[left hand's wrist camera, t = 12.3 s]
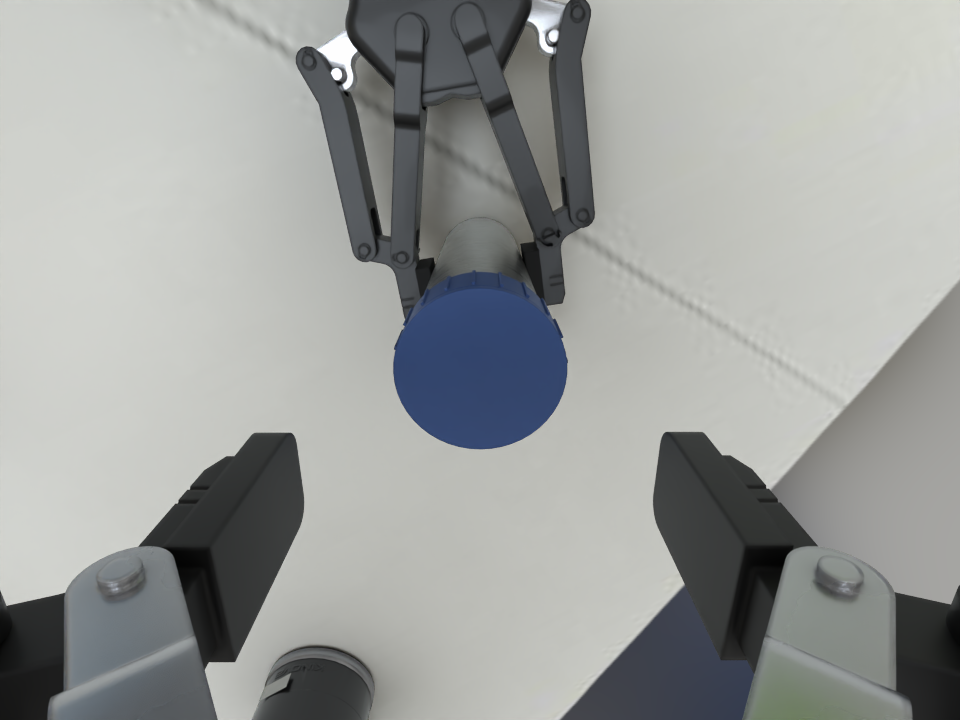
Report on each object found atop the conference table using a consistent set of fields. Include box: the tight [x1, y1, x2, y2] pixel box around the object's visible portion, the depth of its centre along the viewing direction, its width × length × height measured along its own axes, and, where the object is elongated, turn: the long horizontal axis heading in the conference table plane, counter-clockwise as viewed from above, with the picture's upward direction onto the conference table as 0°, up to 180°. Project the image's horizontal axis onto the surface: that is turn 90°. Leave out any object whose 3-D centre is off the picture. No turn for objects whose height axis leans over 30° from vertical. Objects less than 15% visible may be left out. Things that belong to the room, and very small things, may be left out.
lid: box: [393, 270, 568, 449], centre depth 18 cm, size 5×5×2 cm
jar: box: [426, 218, 536, 294], centre depth 26 cm, size 5×5×19 cm
